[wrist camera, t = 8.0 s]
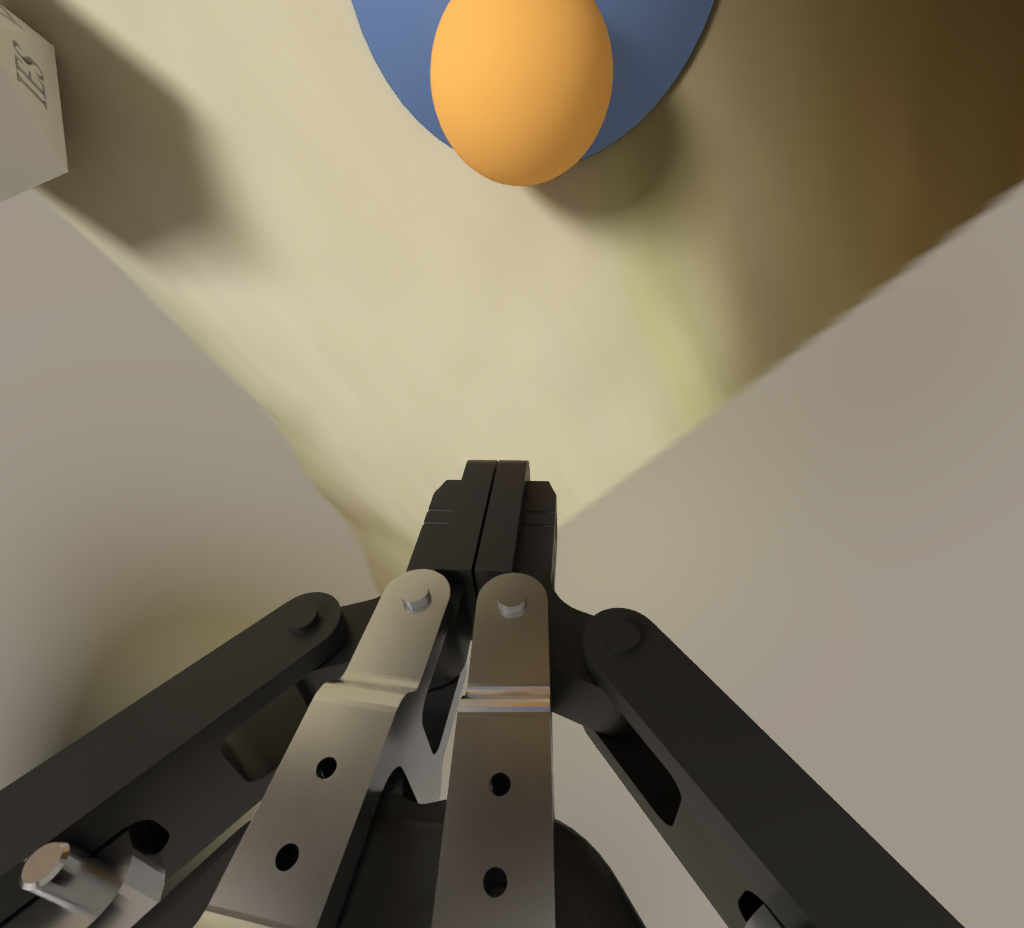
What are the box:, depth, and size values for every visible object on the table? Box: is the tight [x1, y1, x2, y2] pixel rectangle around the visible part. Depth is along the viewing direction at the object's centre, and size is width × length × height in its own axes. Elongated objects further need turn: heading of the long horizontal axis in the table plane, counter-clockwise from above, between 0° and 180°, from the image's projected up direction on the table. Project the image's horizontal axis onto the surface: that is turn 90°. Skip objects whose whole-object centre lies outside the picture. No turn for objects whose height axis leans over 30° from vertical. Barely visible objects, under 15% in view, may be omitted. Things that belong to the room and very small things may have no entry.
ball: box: [430, 0, 613, 186], centre depth 17 cm, size 6×6×6 cm
